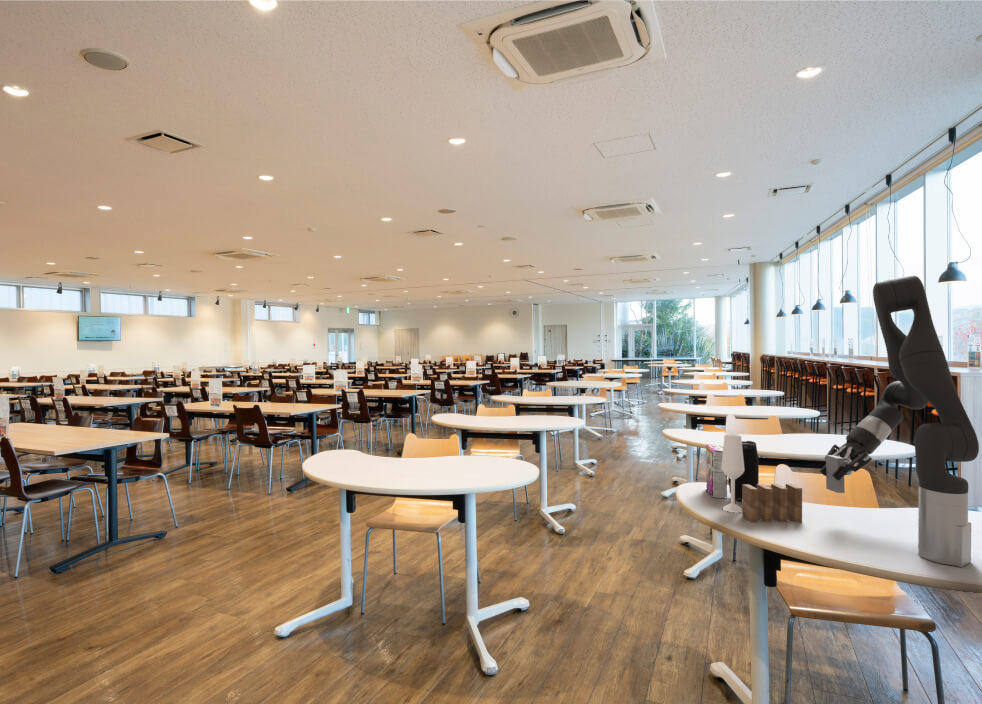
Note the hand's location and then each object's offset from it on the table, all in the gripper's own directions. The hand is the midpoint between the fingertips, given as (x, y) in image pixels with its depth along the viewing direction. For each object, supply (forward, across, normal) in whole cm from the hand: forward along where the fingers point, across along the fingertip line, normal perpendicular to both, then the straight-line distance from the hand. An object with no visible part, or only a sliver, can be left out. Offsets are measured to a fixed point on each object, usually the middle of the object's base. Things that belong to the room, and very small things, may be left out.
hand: (829, 475), depth 154 cm
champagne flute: (+25, -14, -6) cm, 29 cm away
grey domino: (+2, 0, +4) cm, 5 cm away
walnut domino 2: (+22, -4, -2) cm, 22 cm away
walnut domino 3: (+19, -4, +1) cm, 19 cm away
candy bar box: (+23, -31, -4) cm, 39 cm away
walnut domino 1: (+25, -4, -5) cm, 26 cm away
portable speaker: (+19, -24, 0) cm, 31 cm away
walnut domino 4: (+15, -4, +4) cm, 17 cm away
